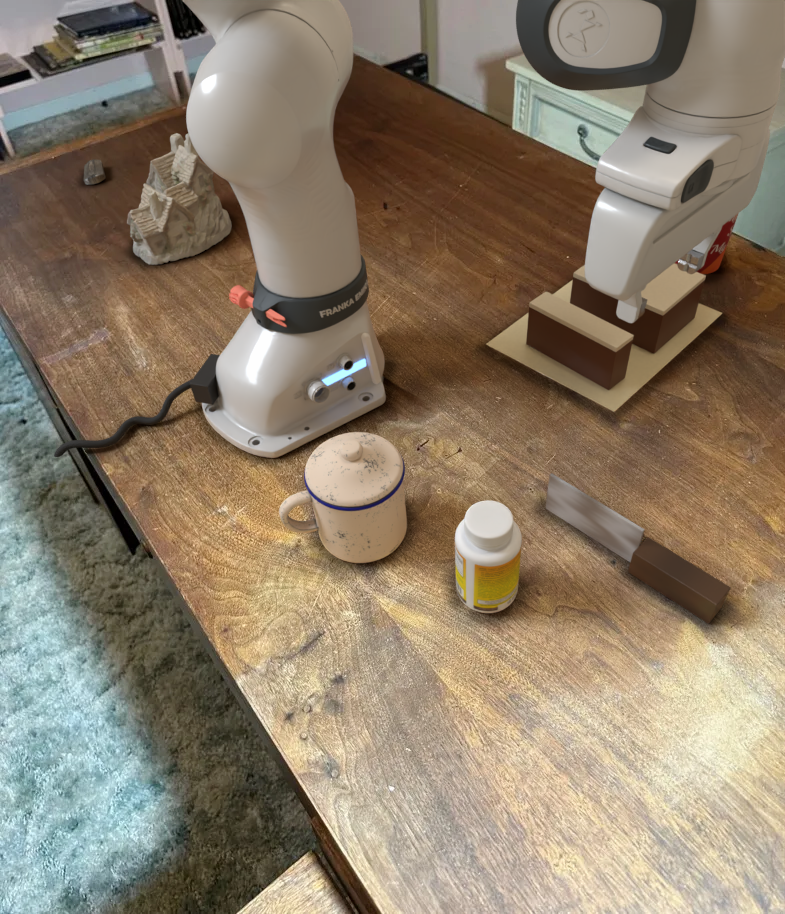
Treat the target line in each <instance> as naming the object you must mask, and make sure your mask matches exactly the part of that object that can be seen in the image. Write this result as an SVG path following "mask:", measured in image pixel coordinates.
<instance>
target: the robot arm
mask: <svg viewBox="0 0 785 914" xmlns="http://www.w3.org/2000/svg"><path fill="white" fill-rule="evenodd" d="M181 1H182V2H183V3H184V4H185V5H186V6H187V7H188V8H189V10H190V11H192V13H193V15H195V16H196V17H197V19H198V20H199V21H200V22H201V23H202V24H203V26H204V27H205V28H206V30H207V31H208V32H209V34H210V35H211V36H212V38H213V40H214V42H215V45H214V46H213V47H212V48H211V49H210V51H208V53H207V54H206V55H205V56H204V57H203V59H202V60H201V62H200V64H199V66H198V69H197V71H196V74H195V77H194V80H193V83H192V86H191V90H190V93H189V97H188V101H187V106H186V115H185V117H186V118H185V120H186V128H187V132H188V133H189V136H190V139H191V142H192V144H193V146H194V148H195V150H196V152H197V153H198V155H199V156H198V157H199V159H200V160H202V163H203V164H205V165H207V166H208V167H209V168H210V169H211V170H212V171H213V173H214V174H215V175H217V176H219V177H220V178H222V179H223V180H225V181H227V182H228V183H229V185H230V187H231V189H232V191H233V193H234V195H235V197H236V199H237V201H238V204H239V205H240V209H241V212H242V213H243V214H242V215H243V217H244V220H245V223H246V228H247V232H248V235H249V240H250V245H251V248H252V252H253V257H254V261H255V266H256V272H255V276H254V283H253V289H252V291H251V290H247V289H246V288H245V287H244V286H242V285H241V284H237V285H234V286H233V287H232V288H231V289H230V291H229V293H228V296H229V297H228V298H229V300H230V302H231V303H232V304H234V305H237V306H238V307H239V308H241V309H243V310H246V309H249V308H250V311H249V313H248V314H247V315H246V317H245V319H244V320H243V321H242V322H241V325H240V326H239V327H238V329H237V330H236V332H235V334H234V335H233V336H232V338H231V339H230V341H229V342H228V344H227V345H226V346H225V348H224V349H223V351H221V353H220V354H215V353H210V355H209V356H208V357H207V359H206V360H205V361H204V362H203V364H202V365H201V367H200V368H199V369H198V371H197V372H196V374H195V375H194V376H193V378H191V379H189V380H187V381H185V382H183V383H181V384H180V385H178V386H177V387H176V388H174V389H173V390H172V391H171V392H170V393H169V394H168V395H167V396H166V398H165V399H164V402H163V404H162V406H161V409H160V410H159V412H158V413H157V414H156V415H154V416H150V417H149V416H141V415H140V416H139V415H138V416H132V417H130V418H127V419H126V420H125V421H124V422H122V423H121V424H120V426H119V427H118V429H117V430H116V432H115V433H114V434H113V435H111V436H109V437H107V438H104V439H98V440H95V439H93V440H92V439H91V440H90V439H73V440H69V441H68V440H67V441H66V442H64V443H62V444H61V445H59V447H57V448H56V450H55V451H54V454H53V457H54V458H60V457H62V456H64V454H66V452H67V451H69V450H72V449H76V448H77V449H80V448H81V449H102V448H107V447H110V446H112V445H115V444H116V443H118V442H119V441H121V439H122V438H123V437H124V436H125V434H126V433H127V431H128V430H129V429H130V428H131V427H133V426H135V425H145V426H153V425H157V424H159V423H161V422H162V421H163V420H164V419H165V418H166V417H167V415H168V414H169V411H170V409H171V406H172V404H173V402H174V401H176V399H177V398H178V397H179V396H180V395H182V394H183V393H185V392H186V391H188V390H189V389H191V392H192V396H193V398H194V402H196V403H201V407H202V412H203V415H204V417H205V419H206V421H207V422H208V424H209V425H210V427H211V428H212V429H213V430H214V431H215V432H216V433H217V434H219V435H220V436H221V437H222V438H223V439H224V440H226V441H227V442H228V443H230V444H231V445H233V446H234V447H237V448H238V449H239V450H242V451H244V452H246V453H248V454H251V455H254V456H257V457H262V458H268V459H269V458H271V459H276V458H279V457H281V456H283V455H286V454H287V453H289V452H292V451H294V450H296V449H298V448H299V447H301V446H304V445H305V444H308V443H309V442H312V441H313V440H315V439H318V438H319V437H322V436H323V435H324V434H327V433H329V432H331V431H333V430H335V429H337V428H339V427H341V426H343V425H344V424H347V423H349V422H350V421H353V420H355V419H357V418H359V417H361V416H362V415H364V414H367V413H368V412H370V411H372V410H374V409H376V408H378V407H381V406H382V405H384V404H385V402H386V400H387V395H386V389H385V386H384V380H385V376H384V375H383V374H384V370H385V366H386V365H385V364H386V363H385V354H384V352H383V350H382V347H381V346H380V343H379V340H378V337H377V335H376V332H375V329H374V324H373V320H372V317H371V313H370V308H369V304H368V297H369V293H370V290H369V289H370V287H369V279H368V271H367V265H366V261H365V260H366V259H365V258H364V256H363V254H362V253H361V246H360V236H359V235H360V234H359V227H358V220H357V219H358V216H357V210H356V200H355V199H356V198H355V193H354V191H353V190H352V187H351V186H350V185H349V184H348V183H347V182H346V181H345V179H344V176H343V172H342V170H341V167H340V164H339V160H338V156H337V153H336V149H335V142H334V141H335V140H334V122H335V117H336V110H337V107H338V103H339V101H340V100H341V98H342V95H343V94H344V91H345V89H346V87H347V85H348V83H349V80H351V79H350V78H351V75H352V72H353V65H354V50H355V49H354V32H353V26H352V22H351V19H350V17H349V14H348V13H347V11H346V8H345V7H344V5H343V4H342V2H341V1H340V0H181ZM515 27H516V28H515V29H516V35H517V39H518V42H519V45H520V48H521V51H522V54H523V55H524V57H525V58H526V61H527V62H528V64H529V65H530V66H531V67H532V69H533V70H534V71H535V72H536V73H537V74H538V75H539V76H540V77H542V78H543V79H544V80H545V81H547V82H549V83H550V84H552V85H555V87H556V86H557V87H559V88H561V89H566V90H570V91H580V92H581V91H582V92H583V91H586V92H587V91H588V92H589V91H604V90H614V89H615V90H616V89H617V90H618V89H628V88H635V87H641V86H645V91H644V96H643V101H642V105H641V106H639V107H638V108H637V109H636V111H635V112H634V114H633V115H632V117H631V118H630V121H629V122H628V123H627V125H626V127H625V128H624V129H623V130H622V132H621V133H619V135H618V136H617V138H616V139H615V140H614V141H613V142H612V143H611V144H610V145H609V147H607V149H605V151H604V152H603V153H602V154H601V155H600V157H599V159H598V161H597V164H596V167H595V168H596V169H595V176H594V178H595V179H594V180H595V183H596V184H598V185H600V186H602V187H604V188H603V190H602V191H601V192H600V193H599V196H598V197H597V199H596V202H595V205H594V208H593V211H592V215H591V219H590V225H589V231H588V238H587V244H586V250H585V251H586V252H585V260H584V265H585V278H586V280H587V282H588V283H589V285H590V286H591V287H592V288H594V289H596V290H598V291H600V292H602V293H604V294H606V295H608V296H611V297H613V298H615V299H618V300H619V301H618V306H617V311H616V314H617V316H618V318H620V319H622V320H624V321H626V322H628V323H634V322H635V321H636V320H637V319H638V318H640V317H641V316H642V315H643V314H644V312H645V310H644V309H645V307H646V304H647V299H645V298H643V297H642V295H641V291H643V290H644V289H645V288H646V285H647V284H648V283H649V282H651V281H652V280H653V279H655V278H656V277H657V276H658V275H660V274H661V273H662V272H664V271H665V270H666V269H667V268H669V267H670V266H671V265H673V264H674V263H675V262H676V261H678V260H679V261H678V265H677V266H678V268H679V269H680V270H681V271H686V272H687V273H689V274H694V273H695V272H697V271H698V270H699V269H701V268H702V267H703V266H704V263H705V260H706V257H707V253H708V251H709V250H710V248H711V246H712V245H713V243H714V241H715V239H716V238H717V236H718V234H719V233H720V231H721V229H722V226H723V225H724V224H725V223H726V222H728V221H729V220H730V219H732V218H733V217H734V216H735V215H737V214H738V213H741V212H742V211H743V210H745V209H746V208H747V207H748V206H749V205H750V203H751V201H752V200H753V198H754V196H755V194H756V192H757V189H758V187H759V183H760V180H761V176H762V172H763V169H764V165H765V161H766V158H767V157H766V156H767V153H768V149H769V144H770V137H771V132H770V125H771V122H772V119H773V116H774V114H775V110H776V106H777V104H778V101H779V97H780V93H781V76H782V74H781V73H782V67H783V64H784V60H785V0H517V3H516V9H515ZM188 133H187V134H188ZM738 215H739V214H738Z"/></svg>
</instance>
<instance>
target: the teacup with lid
mask: <svg viewBox="0 0 785 914" xmlns="http://www.w3.org/2000/svg"><path fill="white" fill-rule="evenodd" d="M405 474H406V465H405V461H404V457H403V455H402V454H401V452H400V451H399V450H398V447H396V445H394V444H393V443H392V442H391V441H390V440H388V439H387V438H385V437H383V436H381V435H378V434H375V433H370V432H366V431H365V432H364V431H353V432H345V433H342V434H338V435H335V436H333V437H330V438H328V439H326V440H325V441H323V442H321V444H319V445H318V446H316V448H315V449H314V451H313V452H311V454H310V456H309V457H308V459H307V461H306V464H305V467H304V473H303V480H304V485H305V488H306V490H302V491H299V492H296V493H293V494H290V495H289V496H287V497H286V498H285V499H284V500H283V501H282V502H281V504H280V506H279V509H278V514H279V518H280V521H281V523H282V524H283V526H284V527H285V528H286V529H288V530H289V531H291V532H293V533H299V534H308V533H313V532H316V531H318V534H319V539H320V542H321V543H322V545H323V547H324V548H325V549H326V550H327V552H328V553H330V554H331V555H332V556H334V557H335V558H337V559H339V560H341V561H345V562H348V563H354V564H367V563H372V562H376V561H379V560H381V559H383V558H386V557H387V556H389V555H391V554H392V553H393V552H394V551H396V549H398V547H399V546H400V545H401V543H402V542H403V541H404V539H405V537H406V534H407V530H408V529H407V528H408V519H407V518H408V517H407V508H406V507H407V506H406V496H405V483H404V478H405ZM309 503H311V504H312V509H313V512H314V518H311V519H307V520H297V519H294V518H293V517H290V516H289V514H290V513H291V511H292V510H294V509H295V508H297V507H299V506H302V505H305V504H309Z"/></svg>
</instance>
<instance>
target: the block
mask: <svg viewBox="0 0 785 914" xmlns="http://www.w3.org/2000/svg"><path fill="white" fill-rule="evenodd" d="M105 173H106V172H105V169H104V164H103V161H102V160H101V159H94V158H93V159H90V160H88V161H87V162H86V164H84V166H83V182H84V184H85V185H88V186H93V185H96V184H99V183H101V182H102V181H104V180H105V179H106V178H107V176H106V174H105Z"/></svg>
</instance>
